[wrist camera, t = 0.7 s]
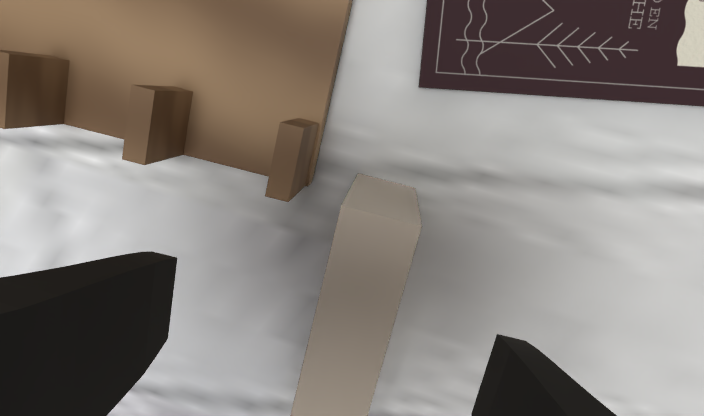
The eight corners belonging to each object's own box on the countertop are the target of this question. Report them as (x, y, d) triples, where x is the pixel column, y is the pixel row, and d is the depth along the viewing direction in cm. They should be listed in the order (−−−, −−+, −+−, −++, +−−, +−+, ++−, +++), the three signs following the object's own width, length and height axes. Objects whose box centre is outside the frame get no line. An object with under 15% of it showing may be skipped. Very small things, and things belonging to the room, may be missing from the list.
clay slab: (357, 395, 22) (342, 502, 16) (306, 381, 22) (274, 483, 16) (415, 187, 20) (421, 226, 14) (358, 172, 20) (341, 205, 14)
